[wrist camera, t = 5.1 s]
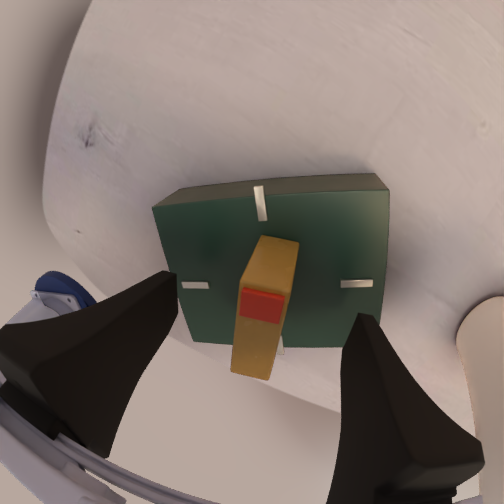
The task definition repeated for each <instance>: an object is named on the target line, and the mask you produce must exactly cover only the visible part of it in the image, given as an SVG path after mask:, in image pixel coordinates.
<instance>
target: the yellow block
mask: <svg viewBox="0 0 504 504" xmlns="http://www.w3.org/2000/svg"><path fill="white" fill-rule="evenodd" d="M298 250H299V242H296V241H291V240H286V239H281V238H276V237H271V236H266V235H261V237H260V239H259V241H258V243H257V245H256V247H255V249H254V251H253V254H252V256H251V258H250V260H249V262H248V264H247V266H246V269H245V271H244V273H243V275H242V277H241V279H240V282H239V292H238V301H237V311H236V320H235V330H234V340H233V349H232V359H231V372H233V373H237V374H241V375H245V376H249V377H254V378H258V379H262V380H269V378H270V374H271V371H272V367H273V363H274V359H275V356H276V352H277V348H278V344H279V340H280V336H281V332H282V328H283V324H284V320H285V316H286V312H287V308H288V303H289V299H290V295H291V290H292V285H293V279H294V274H295V268H296V262H297V256H298Z"/></svg>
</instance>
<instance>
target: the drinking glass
mask: <svg viewBox="0 0 504 504" xmlns="http://www.w3.org/2000/svg"><path fill="white" fill-rule="evenodd" d="M456 347H457V351H458V354H459V357H460V359H461V362H462V365H463V368H464V372H465V376H466V381H467V385H468V390H469V395H470V400H471V406H472V412H473V419H474V426H475V434H476V439H478V440H479V441H481V443H482V448H483V453H484V459H485V465H484V467H483V469H482V470H481V471H480V472H479V495H482V497H483V504H504V297H502V296H498V297H493V298H490V299H487V300H485V301H484V302H482V303H480V304H479V305H477V306H476V307H475V308H474V309H473V310H472V311H471V312H470V313H469V314H468V315H467V316H466V317H465V319H464V320H463V322H462V324H461V325H460V327H459V330H458V333H457V337H456Z"/></svg>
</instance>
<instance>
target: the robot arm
mask: <svg viewBox="0 0 504 504" xmlns="http://www.w3.org/2000/svg"><path fill="white" fill-rule="evenodd" d="M30 294H31V296H32V298H33V299H32V300H31V301H30V302H29V303H28V304H27V305H25V306H24V307H23V308H22V309H21V310H20V311H19V312H18V313H17V314H16V315H14V316H13V317H12V318H11V319H10V320H9V321H8V322H7V323H6V324H5V325H4V326H3V327H2V328H1V329H0V462H1V463H2V464H3V465H4V466H5V467H6V468H7V469H8V470H9V471H10V472H11V473H12V474H13V475H14V476H15V477H16V478H17V479H18V480H19V481H20V482H21V483H22V484H23V485H24V486H25V487H26V488H27V489H28V490H29V491H30V492H32V494H34V495H35V496H36V497H37V498H38V499H39V500H40V501H42V502H43V503H44V504H125V503H126V499H125V498H123V497H122V496H120V495H118V494H117V493H115V492H114V491H112V490H111V489H110V488H109V487H108V486H107V485H105V484H104V483H102V482H100V481H99V480H97V479H95V478H94V477H92V476H91V475H89V474H87V473H86V471H85V469H86V470H88V471H89V472H91V473H93V474H95V475H96V476H98V477H100V478H102V479H104V480H105V481H107V482H109V483H111V484H113V485H115V486H117V487H119V488H121V489H123V490H125V491H127V492H129V493H132V494H134V495H136V496H138V497H141V498H143V499H145V500H148V501H150V502H152V503H155V504H219V503H215V502H212V501H208V500H205V499H201V498H198V497H195V496H191V495H188V494H185V493H182V492H179V491H176V490H174V489H171V488H168V487H165V486H163V485H160V484H158V483H155V482H153V481H150V480H148V479H145V478H143V477H141V476H139V475H136V474H134V473H132V472H130V471H128V470H125V469H123V468H121V467H119V466H117V465H115V464H113V463H111V462H109V461H107V460H105V458H108V457H109V455H110V451H111V448H112V444H113V442H114V439H115V435H116V432H117V429H118V427H119V424H120V421H121V419H122V416H123V414H124V412H125V409H126V407H127V404H128V402H129V400H130V398H131V395H132V393H133V391H134V389H135V387H136V385H137V383H138V381H139V379H140V377H141V375H142V373H143V372H144V370H145V369H146V367H147V365H148V364H149V363H150V361H151V360H152V358H153V356H154V355H155V353H156V352H157V350H158V349H159V347H160V346H161V344H162V343H163V341H164V339H165V338H166V336H167V335H168V333H169V332H170V329H171V327H172V325H173V323H174V321H175V319H176V317H177V315H178V297H177V274H176V273H172V272H168V271H164V270H163V271H161V272H158V273H156V274H154V275H152V276H151V277H149V278H147V279H145V280H143V281H141V282H139V283H137V284H136V285H134V286H132V287H130V288H128V289H126V290H124V291H122V292H120V293H118V294H116V295H114V296H112V297H110V298H108V299H106V300H103V301H101V302H99V303H96V304H94V305H92V306H89V307H86V308H83V309H81V307H80V304H79V302H78V300H77V298H76V297H75V296H74V295H71V294H62V293H53V292H44V291H36V290H32V291H30ZM340 377H341V433H340V440H339V447H338V454H337V459H336V465H335V470H334V475H333V479H332V483H331V488H330V491H329V495H328V499H327V502H326V504H452V497H454V496H456V494H457V490H456V487H457V486H458V485H460V484H462V483H463V482H465V481H467V480H468V479H470V478H471V477H473V476H474V475H476V474H477V473H479V472H480V471H481V470H482V469H483V467H484V465H485V459H484V453H483V448H482V443H481V441H479V440H478V439H476V438H475V437H474V436H472V435H471V434H469V433H468V432H467V431H465V430H464V429H463V428H461V427H460V426H459V425H458V424H457V423H455V422H454V421H453V420H452V419H451V418H450V417H449V416H447V415H446V414H445V413H444V412H443V411H442V410H441V409H440V408H439V407H438V406H437V405H436V404H435V403H434V402H433V401H432V400H431V398H430V397H429V396H428V395H427V394H426V393H425V392H424V390H423V389H422V388H421V387H420V385H419V384H418V383H417V382H416V381H415V379H414V378H413V377H412V375H411V374H410V373H409V371H408V370H407V368H406V367H405V365H404V364H403V363H402V361H401V360H400V358H399V357H398V355H397V353H396V352H395V350H394V349H393V347H392V346H391V344H390V342H389V341H388V339H387V337H386V336H385V334H384V332H383V331H382V329H381V327H380V326H379V324H378V322H377V321H376V319H375V318H374V316H373V315H369V314H364V313H358V314H357V317H356V319H355V322H354V324H353V326H352V329H351V331H350V333H349V336H348V338H347V340H346V342H345V345H344V347H343V349H342V358H341V370H340ZM453 504H483V497H482V495H479V496H475V497H472V498H468V499H465V500H461V501H458V502H455V503H453Z"/></svg>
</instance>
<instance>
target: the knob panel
mask: <svg viewBox="0 0 504 504" xmlns="http://www.w3.org/2000/svg"><path fill="white" fill-rule="evenodd" d="M389 197H390V191H389V189H388V188H387V187H386V185H385V184H384V183H383V182H382V181H381V180H380V178H379V177H378V176H377V175H376V174H340V175H319V176H302V177H287V178H274V179H263V180H252V181H242V182H232V183H223V184H215V185H206V186H198V187H191V188H184V189H179V190H178V191H176V192H174V193H173V194H171V195H170V196H168V197H167V198H165V199H164V200H162V201H160V202H159V203H157V204H156V205H154V206H153V207H152V210H153V214H154V218H155V222H156V226H157V229H158V233H159V236H160V240H161V244H162V247H163V250H164V254H165V257H166V261H167V264H168V267H169V271H170V272H172V273H176V274H177V296H178V299H179V302H180V305H181V308H182V311H183V314H184V317H185V319H186V322H187V325H188V328H189V331H190V334H191V336H192V339H193V341H194V342H203V343H215V344H228V345H233V340H234V330H235V320H236V311H237V301H238V292H239V282H240V279H241V277H242V275H243V273H244V271H245V269H246V266H247V264H248V262H249V260H250V258H251V256H252V254H253V251H254V249H255V247H256V245H257V243H258V241H259V239H260V237H261V235H266V236H271V237H276V238H281V239H286V240H291V241H296V242H299V250H298V256H297V262H296V268H295V274H294V279H293V285H292V290H291V295H290V299H289V303H288V308H287V312H286V316H285V320H284V324H283V328H282V332H281V336H280V340H279V344H278V348H277V354H278V355H284V347H306V348H324V347H344V345H345V342H346V340H347V338H348V336H349V333H350V331H351V329H352V326H353V324H354V322H355V319H356V317H357V314H358V313H364V314H369V315H373V316H374V318H375V319H376V321H377V322H378V324H379V325H380V318H381V311H382V303H383V295H384V286H385V276H386V265H387V252H388V235H389Z"/></svg>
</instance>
